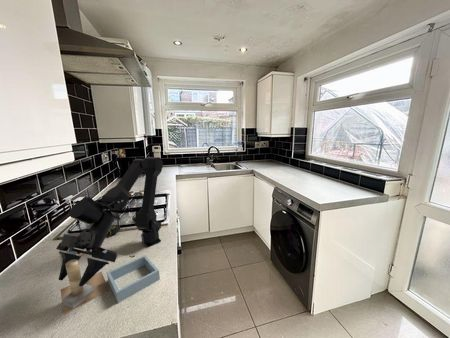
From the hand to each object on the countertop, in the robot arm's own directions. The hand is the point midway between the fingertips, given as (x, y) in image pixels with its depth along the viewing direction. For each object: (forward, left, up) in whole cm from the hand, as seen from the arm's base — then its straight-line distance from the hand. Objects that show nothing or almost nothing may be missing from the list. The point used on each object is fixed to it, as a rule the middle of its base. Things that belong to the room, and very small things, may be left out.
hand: (70, 283), depth 55 cm
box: (-15, +4, -8) cm, 18 cm away
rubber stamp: (-1, -1, -6) cm, 7 cm away
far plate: (-3, -3, -8) cm, 9 cm away
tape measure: (-19, -40, -8) cm, 44 cm away
